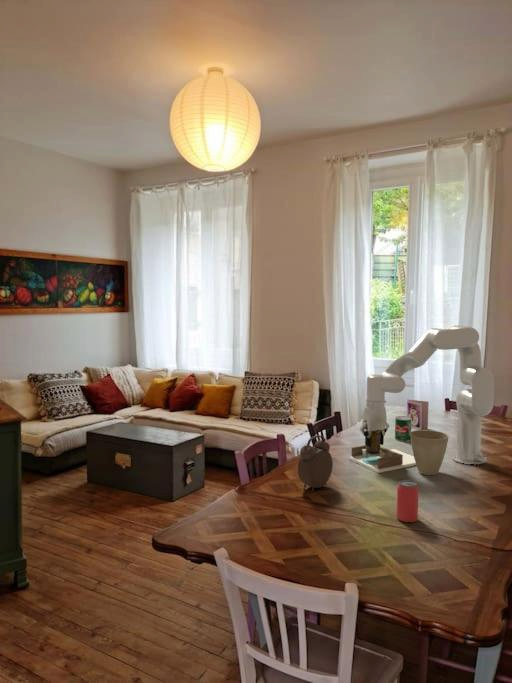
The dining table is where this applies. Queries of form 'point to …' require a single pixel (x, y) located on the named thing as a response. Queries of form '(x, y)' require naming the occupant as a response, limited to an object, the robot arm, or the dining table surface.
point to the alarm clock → (315, 463)
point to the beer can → (407, 501)
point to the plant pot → (428, 450)
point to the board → (372, 460)
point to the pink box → (418, 413)
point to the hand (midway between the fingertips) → (374, 444)
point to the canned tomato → (402, 428)
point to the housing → (388, 458)
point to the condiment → (374, 444)
